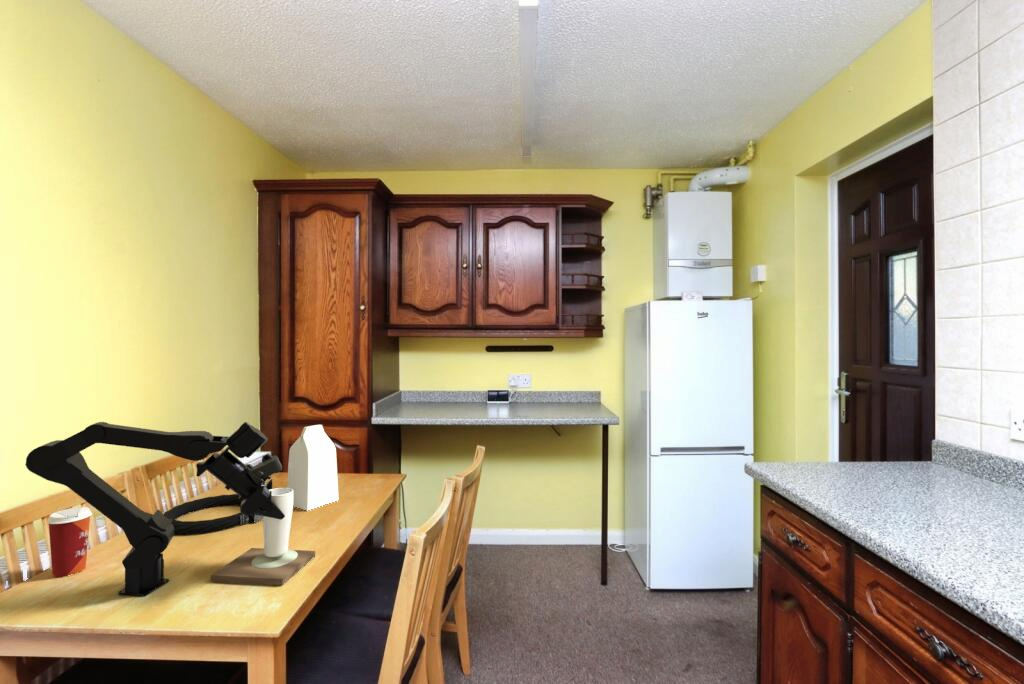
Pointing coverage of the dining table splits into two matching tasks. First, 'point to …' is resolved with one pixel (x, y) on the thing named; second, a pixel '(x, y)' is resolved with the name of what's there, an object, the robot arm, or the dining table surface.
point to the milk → (313, 469)
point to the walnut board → (263, 567)
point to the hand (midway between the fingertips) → (283, 513)
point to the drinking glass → (278, 523)
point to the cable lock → (208, 525)
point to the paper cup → (69, 540)
